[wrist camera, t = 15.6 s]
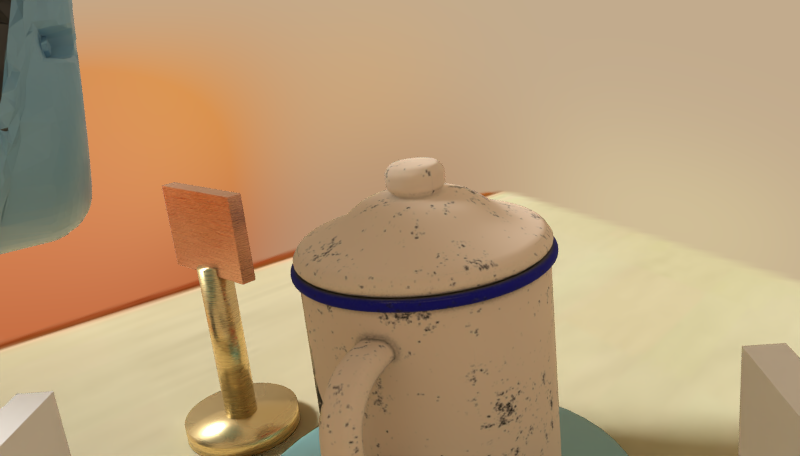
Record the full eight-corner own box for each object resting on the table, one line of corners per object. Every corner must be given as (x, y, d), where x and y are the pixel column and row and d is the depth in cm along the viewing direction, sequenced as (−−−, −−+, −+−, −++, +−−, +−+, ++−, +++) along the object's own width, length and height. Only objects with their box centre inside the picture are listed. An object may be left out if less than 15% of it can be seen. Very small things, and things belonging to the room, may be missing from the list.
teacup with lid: (384, 391, 34) (352, 137, 31) (588, 415, 30) (577, 130, 27) (229, 581, 24) (154, 230, 20) (511, 653, 20) (477, 238, 17)
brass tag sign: (167, 434, 34) (113, 198, 31) (256, 387, 37) (217, 170, 34) (229, 473, 31) (176, 212, 27) (322, 417, 34) (284, 179, 31)
